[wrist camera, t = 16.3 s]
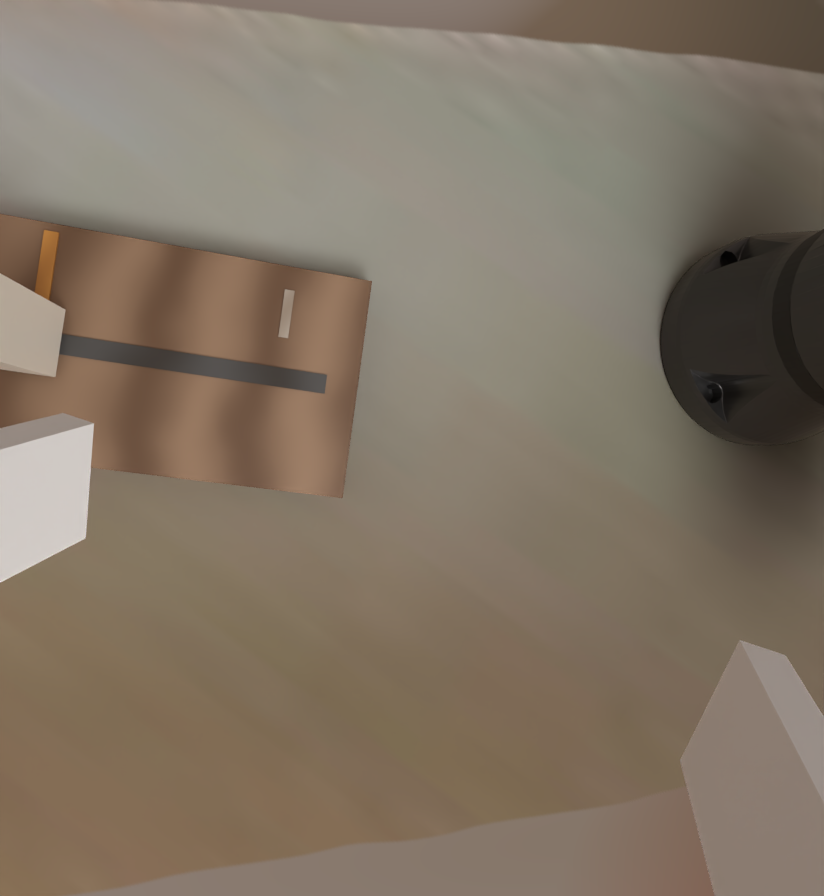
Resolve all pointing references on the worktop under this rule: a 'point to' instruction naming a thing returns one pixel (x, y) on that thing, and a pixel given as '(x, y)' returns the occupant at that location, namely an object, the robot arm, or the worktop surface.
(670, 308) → the robot arm
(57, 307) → the fader tab
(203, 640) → the worktop surface
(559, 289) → the worktop surface
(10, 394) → the board
